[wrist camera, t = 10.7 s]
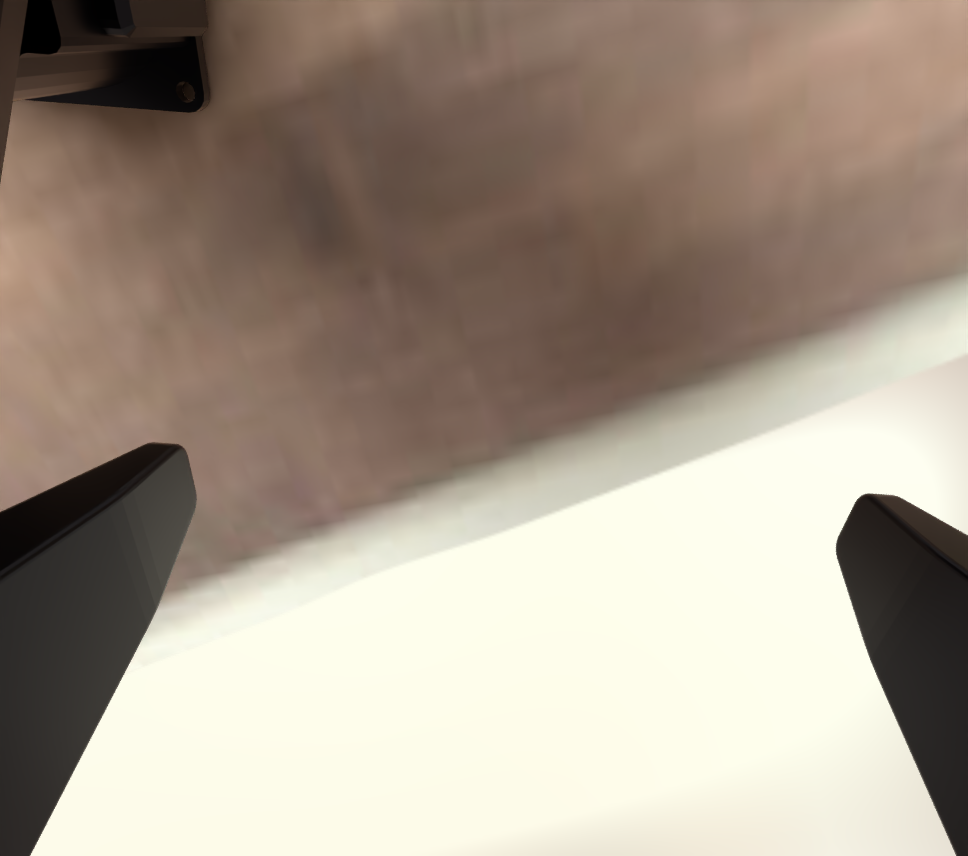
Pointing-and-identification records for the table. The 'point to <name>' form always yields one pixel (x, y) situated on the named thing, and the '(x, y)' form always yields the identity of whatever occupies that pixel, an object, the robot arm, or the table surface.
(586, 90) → the table surface
